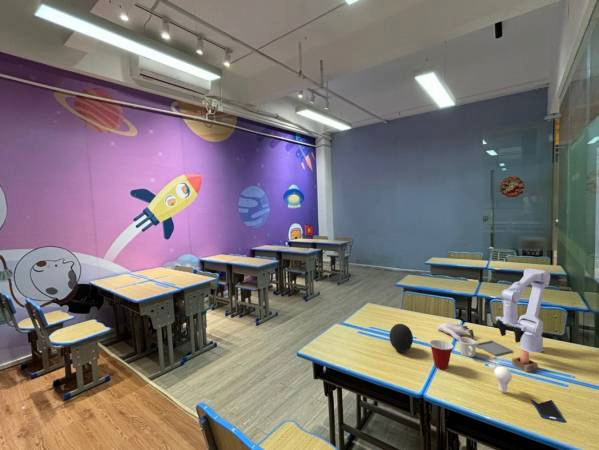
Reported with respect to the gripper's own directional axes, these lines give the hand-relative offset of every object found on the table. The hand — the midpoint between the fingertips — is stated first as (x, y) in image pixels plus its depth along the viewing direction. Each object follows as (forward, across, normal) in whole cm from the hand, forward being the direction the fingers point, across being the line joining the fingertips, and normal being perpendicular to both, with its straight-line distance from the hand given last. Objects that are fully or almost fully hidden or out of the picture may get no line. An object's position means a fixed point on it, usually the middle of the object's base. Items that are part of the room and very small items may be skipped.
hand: (510, 338), depth 144 cm
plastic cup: (+10, -5, -39) cm, 40 cm away
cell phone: (+10, +31, -22) cm, 39 cm away
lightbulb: (+10, +19, -29) cm, 36 cm away
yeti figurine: (+11, -31, -5) cm, 33 cm away
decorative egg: (+10, -24, -48) cm, 55 cm away
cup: (+10, -8, -19) cm, 23 cm away
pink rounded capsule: (+10, +9, -3) cm, 13 cm away
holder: (+10, +9, -3) cm, 14 cm away
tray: (+10, -9, -1) cm, 14 cm away
